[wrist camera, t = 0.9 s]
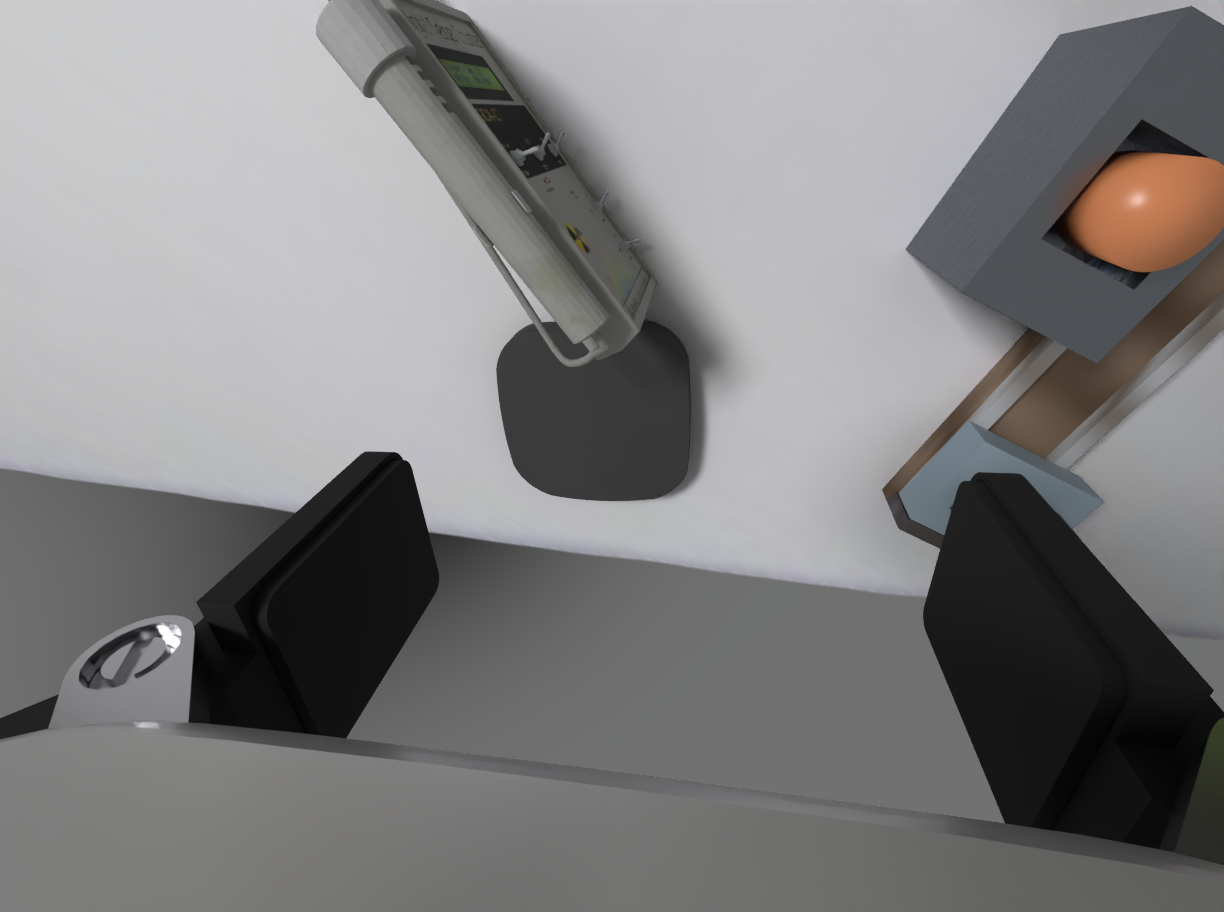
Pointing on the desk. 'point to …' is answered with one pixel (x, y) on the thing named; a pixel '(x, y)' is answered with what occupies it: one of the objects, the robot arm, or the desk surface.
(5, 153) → the desk surface
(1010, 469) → the carriage
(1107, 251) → the button
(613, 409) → the media streaming box
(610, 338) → the geiger counter
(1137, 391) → the rail
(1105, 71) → the cabinet
